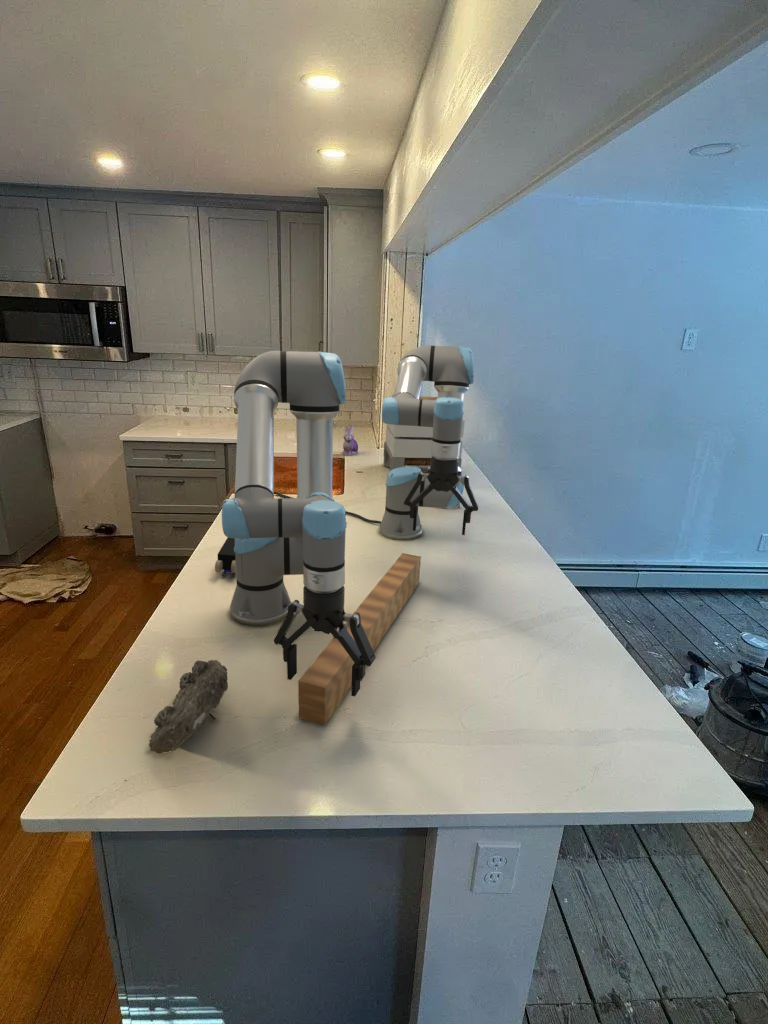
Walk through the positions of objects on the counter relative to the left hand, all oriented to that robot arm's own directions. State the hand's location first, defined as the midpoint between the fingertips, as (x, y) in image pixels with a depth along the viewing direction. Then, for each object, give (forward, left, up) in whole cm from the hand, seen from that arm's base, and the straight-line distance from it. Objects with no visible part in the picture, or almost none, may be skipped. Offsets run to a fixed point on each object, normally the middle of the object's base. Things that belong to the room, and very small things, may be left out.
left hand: (323, 684), depth 110 cm
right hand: (-35, +49, +11) cm, 62 cm away
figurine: (-183, +93, -5) cm, 206 cm away
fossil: (-7, -23, -5) cm, 25 cm away
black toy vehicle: (-68, 0, -5) cm, 68 cm away
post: (-19, +20, -5) cm, 28 cm away
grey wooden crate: (-137, +108, -5) cm, 175 cm away
